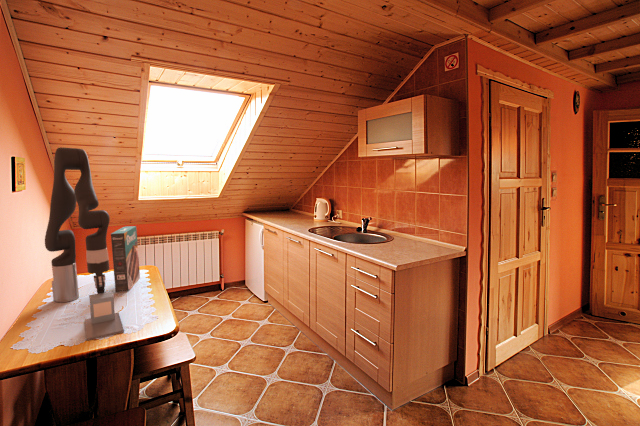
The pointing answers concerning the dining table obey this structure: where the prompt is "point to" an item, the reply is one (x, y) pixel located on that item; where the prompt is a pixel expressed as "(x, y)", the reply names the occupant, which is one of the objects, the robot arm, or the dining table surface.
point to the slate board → (103, 328)
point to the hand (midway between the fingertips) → (101, 300)
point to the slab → (102, 307)
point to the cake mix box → (125, 258)
